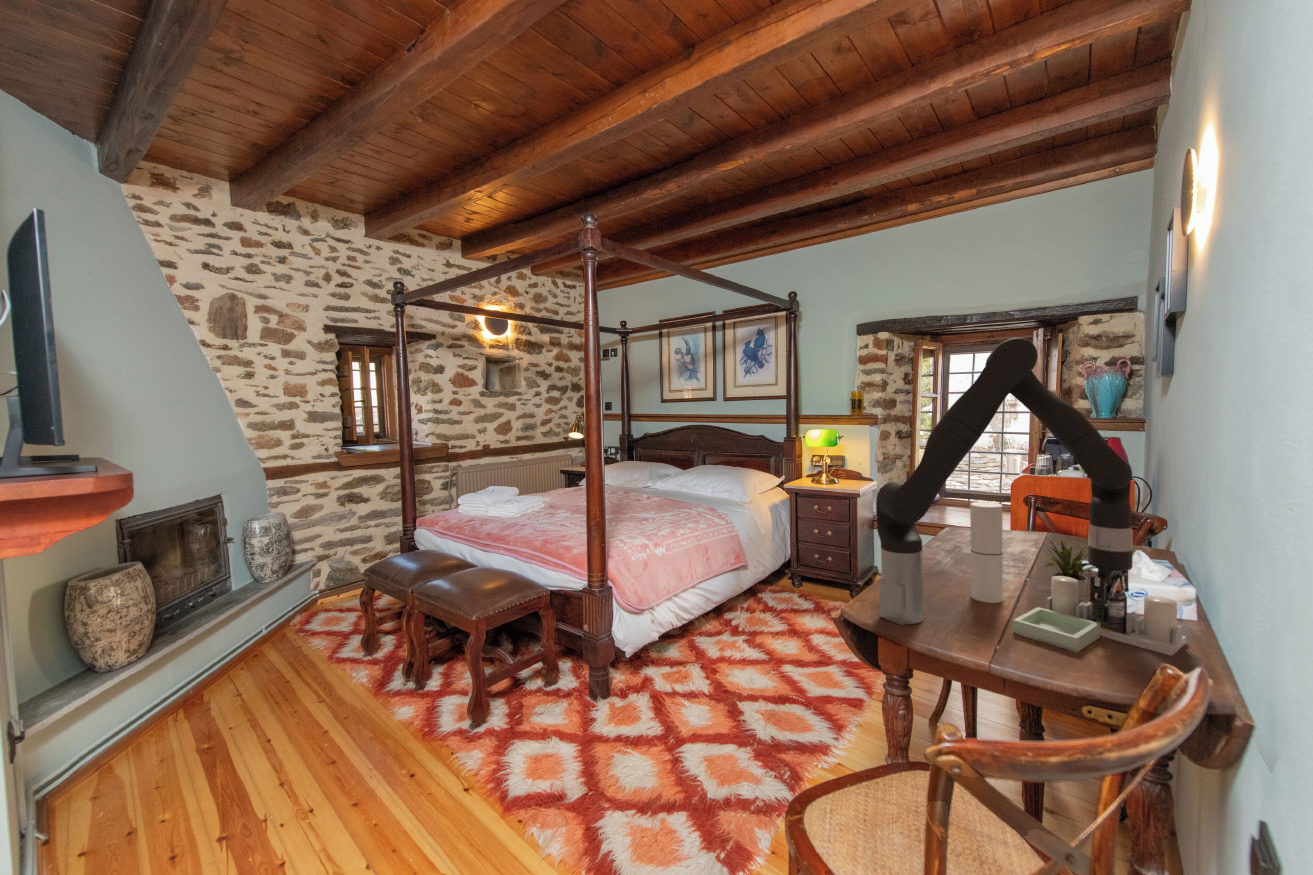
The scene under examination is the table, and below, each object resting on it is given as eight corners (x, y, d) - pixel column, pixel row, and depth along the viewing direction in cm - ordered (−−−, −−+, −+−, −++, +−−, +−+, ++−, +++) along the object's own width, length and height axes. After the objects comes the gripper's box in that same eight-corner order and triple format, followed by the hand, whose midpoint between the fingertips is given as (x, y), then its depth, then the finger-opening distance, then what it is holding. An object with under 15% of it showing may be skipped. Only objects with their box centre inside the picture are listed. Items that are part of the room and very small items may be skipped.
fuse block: (1171, 655, 108) (1172, 609, 107) (1041, 619, 127) (1041, 580, 126) (1186, 643, 112) (1186, 599, 112) (1058, 610, 132) (1058, 572, 131)
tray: (1076, 652, 111) (1076, 638, 111) (1013, 632, 121) (1013, 619, 121) (1100, 636, 117) (1100, 623, 117) (1037, 619, 127) (1037, 606, 127)
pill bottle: (1099, 623, 124) (1100, 575, 123) (1132, 632, 119) (1132, 582, 118) (1086, 629, 121) (1087, 580, 120) (1119, 638, 116) (1119, 587, 115)
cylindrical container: (971, 600, 140) (971, 506, 139) (970, 591, 147) (969, 501, 145) (1004, 604, 137) (1003, 507, 135) (1001, 594, 143) (1000, 502, 142)
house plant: (1017, 594, 143) (1017, 534, 142) (1052, 585, 148) (1052, 527, 147) (1075, 612, 130) (1075, 546, 129) (1111, 602, 135) (1112, 539, 134)
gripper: (1119, 555, 112) (1118, 630, 113) (1143, 542, 119) (1142, 613, 120) (1075, 547, 118) (1075, 619, 119) (1101, 536, 125) (1101, 604, 127)
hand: (1109, 616), depth 120 cm, fingers open, 8 cm apart
